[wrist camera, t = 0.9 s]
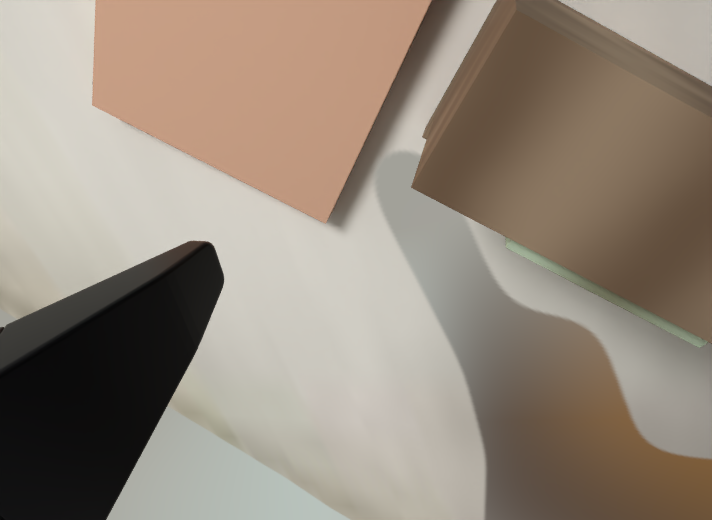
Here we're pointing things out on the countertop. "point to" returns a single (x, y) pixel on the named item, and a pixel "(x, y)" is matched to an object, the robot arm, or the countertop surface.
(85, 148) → the countertop surface
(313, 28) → the green and salmon panel
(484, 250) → the countertop surface
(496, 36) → the brown wooden block
